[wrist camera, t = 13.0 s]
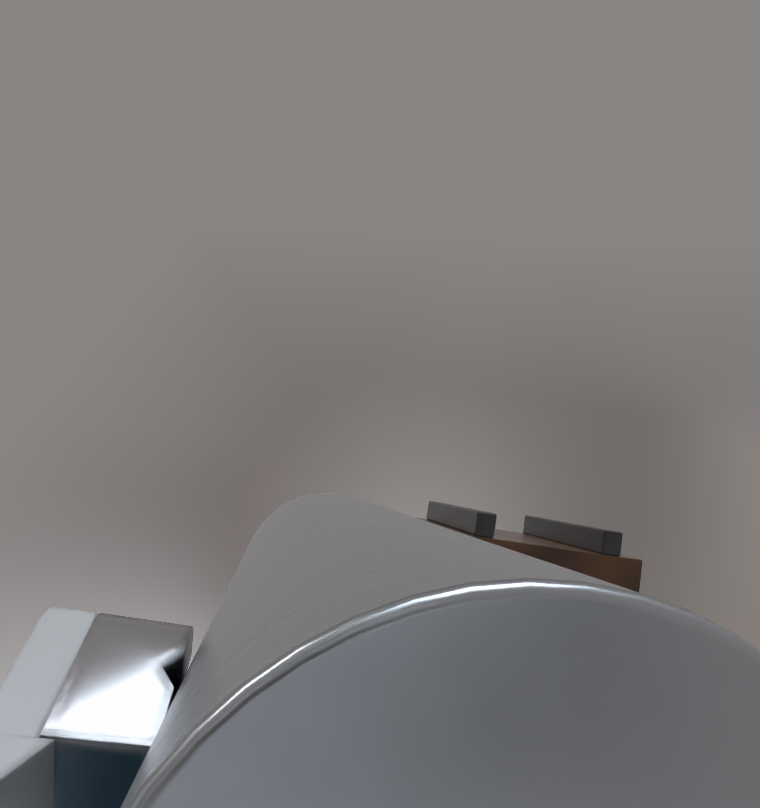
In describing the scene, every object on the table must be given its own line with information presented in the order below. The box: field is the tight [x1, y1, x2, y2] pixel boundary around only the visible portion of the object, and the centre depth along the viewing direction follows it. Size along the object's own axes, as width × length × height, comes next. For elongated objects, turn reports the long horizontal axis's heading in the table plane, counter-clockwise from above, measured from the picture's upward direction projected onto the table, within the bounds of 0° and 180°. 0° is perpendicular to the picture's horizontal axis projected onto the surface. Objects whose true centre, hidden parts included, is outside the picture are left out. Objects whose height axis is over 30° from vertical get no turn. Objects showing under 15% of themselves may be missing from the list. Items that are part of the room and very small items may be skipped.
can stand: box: [418, 501, 642, 592], centre depth 40 cm, size 10×12×27 cm
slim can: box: [121, 492, 760, 808], centre depth 12 cm, size 18×5×5 cm, turn 8°
